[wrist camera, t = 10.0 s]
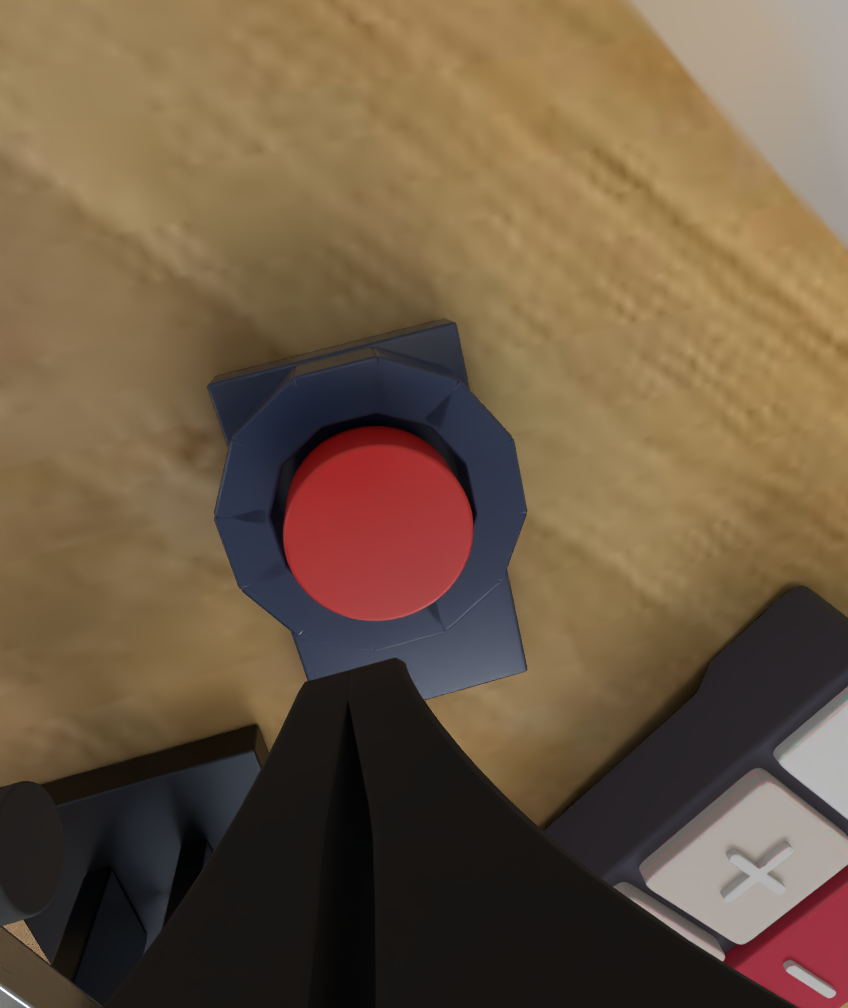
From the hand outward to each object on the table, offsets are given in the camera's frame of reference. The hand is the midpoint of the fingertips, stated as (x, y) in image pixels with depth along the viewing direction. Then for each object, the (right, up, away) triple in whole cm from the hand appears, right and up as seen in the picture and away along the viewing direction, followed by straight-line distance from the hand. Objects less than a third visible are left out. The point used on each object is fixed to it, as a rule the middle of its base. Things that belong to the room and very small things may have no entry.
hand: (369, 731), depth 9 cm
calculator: (+11, -8, +16) cm, 21 cm away
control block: (0, +2, +10) cm, 10 cm away
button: (0, +3, +7) cm, 8 cm away
